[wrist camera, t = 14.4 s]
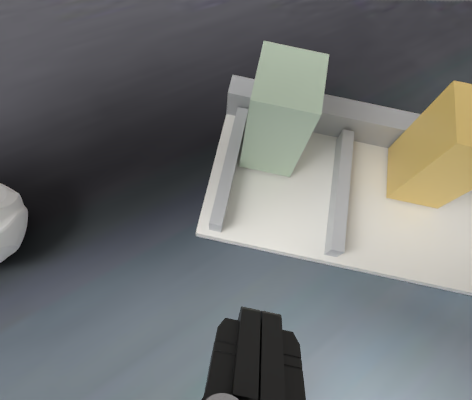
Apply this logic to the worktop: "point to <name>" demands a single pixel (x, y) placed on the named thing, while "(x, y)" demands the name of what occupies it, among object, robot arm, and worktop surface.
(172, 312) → the worktop surface
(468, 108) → the yellow rectangular block
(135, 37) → the worktop surface
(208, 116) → the worktop surface
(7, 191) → the crumpled paper ball
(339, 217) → the white divided tray
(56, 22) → the worktop surface
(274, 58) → the pale green block
